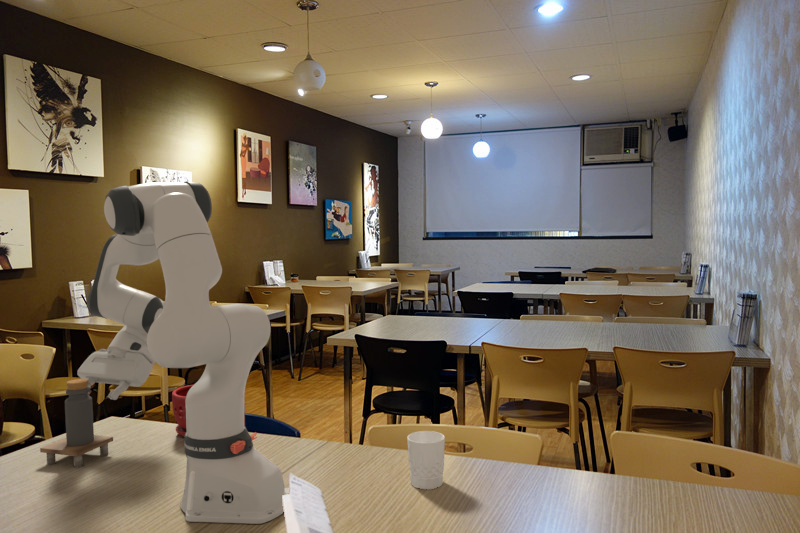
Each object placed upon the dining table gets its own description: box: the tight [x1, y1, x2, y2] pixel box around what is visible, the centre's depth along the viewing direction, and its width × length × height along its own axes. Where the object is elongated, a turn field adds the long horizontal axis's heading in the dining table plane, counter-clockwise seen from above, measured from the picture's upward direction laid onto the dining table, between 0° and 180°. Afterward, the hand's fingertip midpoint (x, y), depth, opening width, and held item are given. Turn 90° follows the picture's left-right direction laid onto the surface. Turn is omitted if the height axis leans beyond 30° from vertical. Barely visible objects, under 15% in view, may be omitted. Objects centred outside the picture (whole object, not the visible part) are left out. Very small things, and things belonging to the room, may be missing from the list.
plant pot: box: [171, 384, 194, 438], centre depth 166 cm, size 13×13×12 cm
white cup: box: [406, 430, 446, 490], centre depth 129 cm, size 8×8×10 cm
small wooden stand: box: [39, 434, 114, 469], centre depth 148 cm, size 11×11×4 cm
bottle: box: [64, 378, 95, 446], centre depth 147 cm, size 6×6×15 cm
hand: (97, 396), depth 154 cm, fingers open, 8 cm apart
